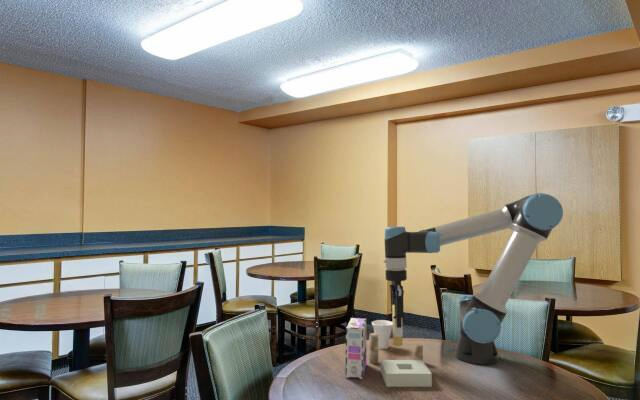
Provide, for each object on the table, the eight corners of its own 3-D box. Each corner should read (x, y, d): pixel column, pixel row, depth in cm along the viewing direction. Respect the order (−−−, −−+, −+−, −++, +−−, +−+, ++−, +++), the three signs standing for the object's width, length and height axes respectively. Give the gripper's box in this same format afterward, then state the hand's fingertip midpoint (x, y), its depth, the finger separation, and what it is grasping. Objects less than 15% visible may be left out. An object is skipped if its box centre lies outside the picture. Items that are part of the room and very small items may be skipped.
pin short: (421, 361, 151) (421, 344, 151) (423, 364, 148) (423, 347, 148) (412, 361, 151) (412, 344, 151) (414, 364, 148) (414, 347, 148)
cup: (371, 350, 162) (371, 324, 163) (372, 343, 172) (372, 318, 172) (394, 351, 161) (394, 325, 161) (394, 344, 170) (393, 319, 170)
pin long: (401, 343, 151) (400, 304, 152) (403, 345, 148) (402, 306, 148) (392, 343, 151) (391, 304, 152) (394, 346, 148) (393, 306, 148)
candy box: (363, 379, 134) (363, 328, 134) (345, 378, 135) (345, 327, 135) (366, 364, 147) (367, 317, 148) (350, 363, 148) (350, 317, 149)
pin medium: (377, 360, 151) (377, 333, 151) (379, 364, 148) (379, 335, 148) (368, 360, 151) (368, 333, 151) (370, 364, 148) (370, 335, 148)
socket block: (421, 372, 140) (421, 360, 141) (431, 386, 128) (431, 373, 129) (380, 371, 140) (380, 360, 140) (386, 386, 128) (386, 373, 128)
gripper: (382, 266, 159) (383, 328, 158) (389, 272, 142) (391, 341, 141) (401, 266, 159) (403, 328, 158) (411, 271, 142) (413, 341, 141)
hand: (397, 334), depth 150 cm, fingers closed on pin long, 3 cm apart
